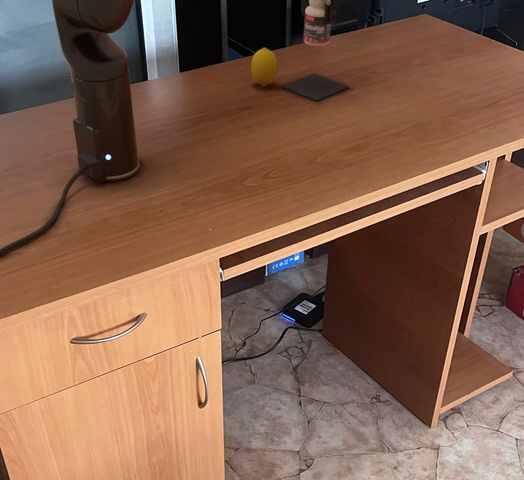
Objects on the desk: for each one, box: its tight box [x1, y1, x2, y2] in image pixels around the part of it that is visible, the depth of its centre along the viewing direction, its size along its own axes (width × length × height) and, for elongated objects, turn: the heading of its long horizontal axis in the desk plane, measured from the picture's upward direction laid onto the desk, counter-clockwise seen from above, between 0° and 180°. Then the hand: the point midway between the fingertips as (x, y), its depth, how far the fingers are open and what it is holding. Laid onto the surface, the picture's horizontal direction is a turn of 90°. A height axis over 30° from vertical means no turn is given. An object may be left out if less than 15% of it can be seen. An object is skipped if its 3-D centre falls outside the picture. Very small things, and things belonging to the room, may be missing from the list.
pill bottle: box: [303, 0, 332, 47], centre depth 155 cm, size 5×5×9 cm
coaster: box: [280, 73, 350, 103], centre depth 164 cm, size 10×10×1 cm
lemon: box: [250, 47, 279, 87], centre depth 162 cm, size 6×6×8 cm
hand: (317, 19), depth 155 cm, fingers closed on pill bottle, 5 cm apart
